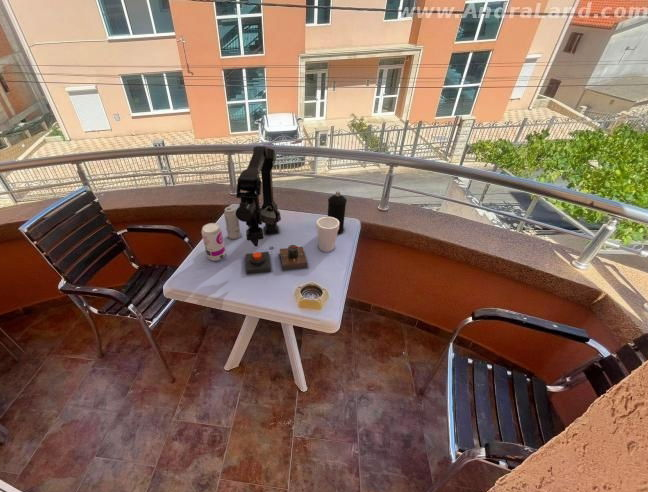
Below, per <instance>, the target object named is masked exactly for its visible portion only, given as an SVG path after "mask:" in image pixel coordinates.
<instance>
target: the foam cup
mask: <svg viewBox="0 0 648 492" xmlns="http://www.w3.org/2000/svg"><path fill="white" fill-rule="evenodd" d="M316 230H317V237H318V238H317V240H318V247H319V250H320V251H322V252H325V253H326V252H327V253H329V252H332V251H333V250H334V248H335V245H336V240H337V236H338V234H337V233H338V230H339V221H338V219H336V218H334V217H328V216H323V217H320V218H318V219H317V220H316Z"/></svg>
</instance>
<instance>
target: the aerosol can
mask: <svg viewBox="0 0 648 492" xmlns="http://www.w3.org/2000/svg"><path fill="white" fill-rule="evenodd" d="M347 200H348V199H347V198H346V197H345V196H344V195H342V194H341V190H336V191H335V194H333V195H331V196H330V197H329V198H328V199H327V202H328V203H327V207H328V208H327V217H334V218H336V219H338V221H339V230H338V233H337V235H340V234H342V233H344V231H345V229H344V227H345V226H344V225H345V215H346V207H347Z"/></svg>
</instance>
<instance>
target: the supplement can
mask: <svg viewBox="0 0 648 492" xmlns="http://www.w3.org/2000/svg"><path fill="white" fill-rule="evenodd" d="M201 236H202V240H203V245H204V248H205V253H206V257H207V259H208V260H210V261H212V262H214V261H215V262H218V261H220V260H222V259H224V258H225V257H226V255H227V253H226V252H227V251H226V247H225V241H224V237H223V232H222V228H221V226H220V225H219V224H218V223H215V222H209V223H206V224H204V225H202V228H201Z"/></svg>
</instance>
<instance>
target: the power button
mask: <svg viewBox="0 0 648 492" xmlns="http://www.w3.org/2000/svg"><path fill="white" fill-rule="evenodd" d="M253 253H254V254H253V259H254V260H261V258H262V255H261V253H260V251H255V252H253Z"/></svg>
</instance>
